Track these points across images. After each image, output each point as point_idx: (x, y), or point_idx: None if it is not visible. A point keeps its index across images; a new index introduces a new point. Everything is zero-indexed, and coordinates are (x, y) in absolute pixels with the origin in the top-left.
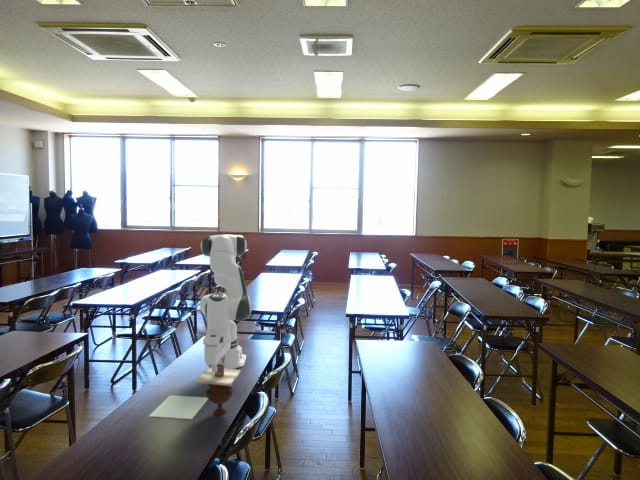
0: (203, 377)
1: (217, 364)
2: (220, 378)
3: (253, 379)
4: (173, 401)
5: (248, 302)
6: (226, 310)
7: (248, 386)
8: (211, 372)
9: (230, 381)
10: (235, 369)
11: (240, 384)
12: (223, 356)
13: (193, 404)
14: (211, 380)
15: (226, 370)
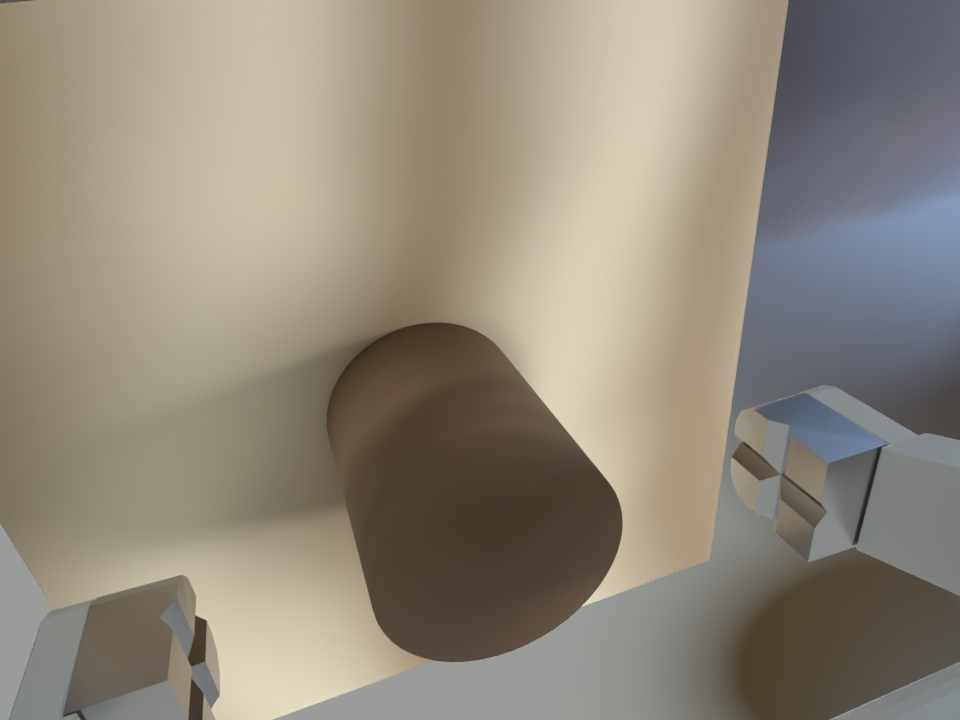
0: (123, 145)
1: (571, 475)
2: (283, 520)
3: (942, 193)
4: None
5: None
6: None
7: (826, 214)
8: (511, 173)
9: (245, 708)
10: (718, 489)
11: (868, 121)
12: (939, 528)
13: None
14: (75, 438)
15: (664, 396)
